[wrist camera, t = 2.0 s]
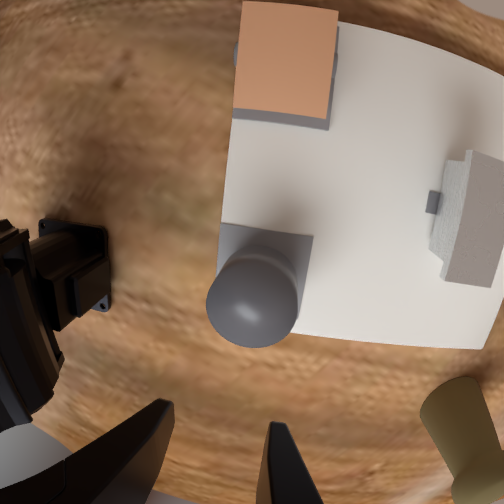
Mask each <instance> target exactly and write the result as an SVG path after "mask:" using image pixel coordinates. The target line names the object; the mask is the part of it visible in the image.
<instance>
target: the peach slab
mask: <svg viewBox="0 0 504 504" xmlns="http://www.w3.org/2000/svg"><path fill="white" fill-rule="evenodd" d="M338 13H339V11H336V10H330V9H324V8H317V7H310V6H302V5H293V4H283V3H271V2H254V1H243V4H242V14H241V23H240V33H239V42H237V43H236V45H235V48H234V65H235V66H236V76H235V87H234V99H233V108H244V109H254V110H264V111H273V112H281V113H289V114H296V115H303V116H310V117H316V118H322V119H326V115H327V108H328V100H329V93H330V85H331V78H335V75H336V70H337V63H338V53H334V52H335V42H336V33H337V23H338Z"/></svg>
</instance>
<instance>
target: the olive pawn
mask: <svg viewBox="0 0 504 504" xmlns="http://www.w3.org/2000/svg"><path fill="white" fill-rule="evenodd" d="M420 418H421V420H422V422H423V424H424V425H425V427H426V429H427V430H428V432H429V434H430V436H431V437H432V439H433V441H434V443H435V444H436V446H437V448H438V450H439V452H440V453H441V455H442V457H443V459H444V461H445V462H446V464H447V466H448V468H449V470H450V472H451V473H452V475H453V477H454V481H453V484H452V487H451V494H452V498H453V501H454V503H455V504H490V503H492V502H494V501H496V500H497V499H499V498H500V497H501V496H503V495H504V451H503V450H501V446H500V443H499V440H498V437H497V434H496V431H495V427H494V424H493V422H492V419H491V416H490V413H489V410H488V407H487V405H486V402H485V399H484V397H483V394H482V391H481V389H480V386H479V384H478V382H477V381H476V380H475V379H474V378H471V377H458V378H455V379H452V380H450V381H448V382H446V383H444V384H442V385H441V386H439V387H438V388H437V389H436V390H434V391H433V392H432V393H431V394H430V395H429V396H428V397H427V399H426V400H425V401H424V403H423V405H422V407H421V409H420Z"/></svg>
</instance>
